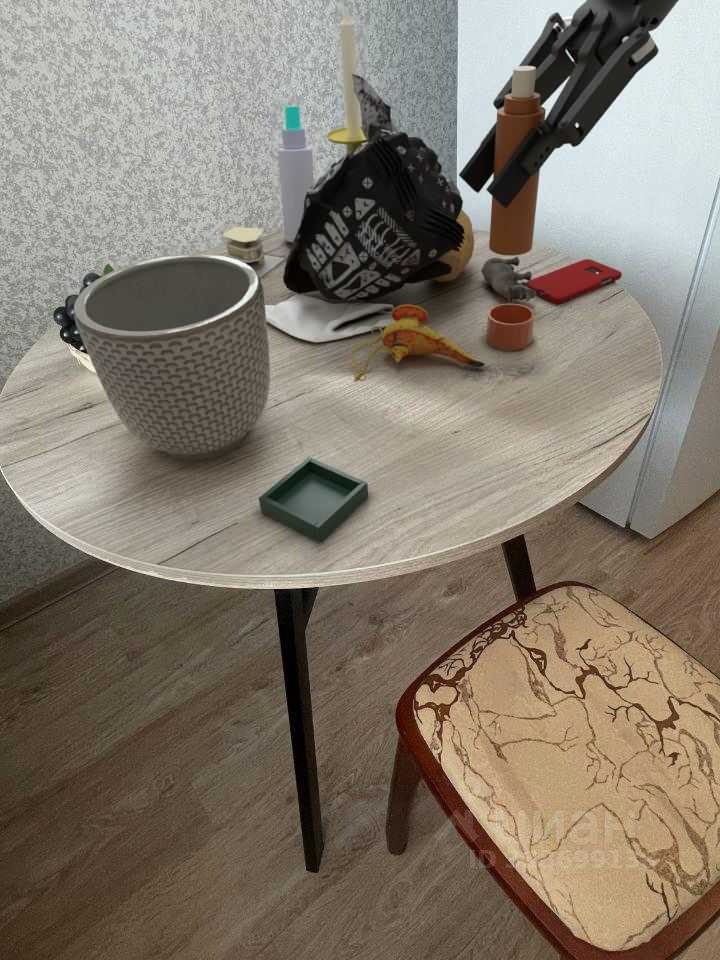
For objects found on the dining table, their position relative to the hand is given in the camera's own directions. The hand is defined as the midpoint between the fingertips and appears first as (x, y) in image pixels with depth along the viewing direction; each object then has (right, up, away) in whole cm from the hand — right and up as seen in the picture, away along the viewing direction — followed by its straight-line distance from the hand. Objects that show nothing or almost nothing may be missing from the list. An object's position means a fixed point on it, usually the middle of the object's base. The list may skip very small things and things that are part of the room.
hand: (482, 191), depth 68 cm
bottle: (+4, -4, +5) cm, 7 cm away
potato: (+2, +6, +48) cm, 48 cm away
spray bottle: (-23, +16, +62) cm, 68 cm away
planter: (-31, -23, +18) cm, 42 cm away
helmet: (-22, -1, +39) cm, 44 cm away
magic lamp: (-3, -6, +28) cm, 29 cm away
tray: (-17, -31, +7) cm, 36 cm away
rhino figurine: (+14, +3, +41) cm, 43 cm away
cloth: (-17, -4, +38) cm, 42 cm away
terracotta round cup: (+9, -8, +31) cm, 33 cm away
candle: (-12, +11, +55) cm, 57 cm away
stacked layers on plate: (-32, +10, +56) cm, 65 cm away
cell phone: (+22, +4, +42) cm, 48 cm away
